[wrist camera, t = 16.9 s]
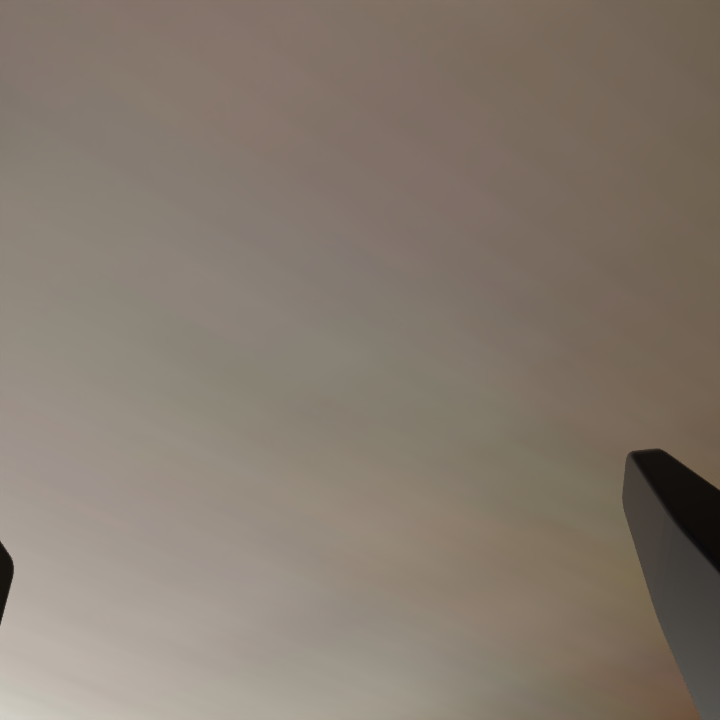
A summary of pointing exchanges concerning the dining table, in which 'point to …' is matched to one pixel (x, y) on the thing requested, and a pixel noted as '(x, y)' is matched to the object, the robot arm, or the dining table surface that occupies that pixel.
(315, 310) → the dining table surface
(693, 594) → the robot arm
